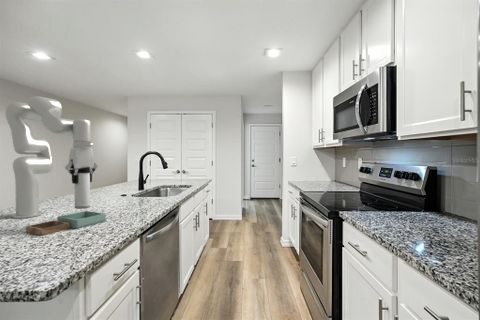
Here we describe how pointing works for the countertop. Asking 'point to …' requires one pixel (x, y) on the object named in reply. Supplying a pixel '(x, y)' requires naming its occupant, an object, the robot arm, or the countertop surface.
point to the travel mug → (82, 189)
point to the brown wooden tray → (53, 227)
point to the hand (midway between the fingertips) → (82, 182)
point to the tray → (83, 219)
